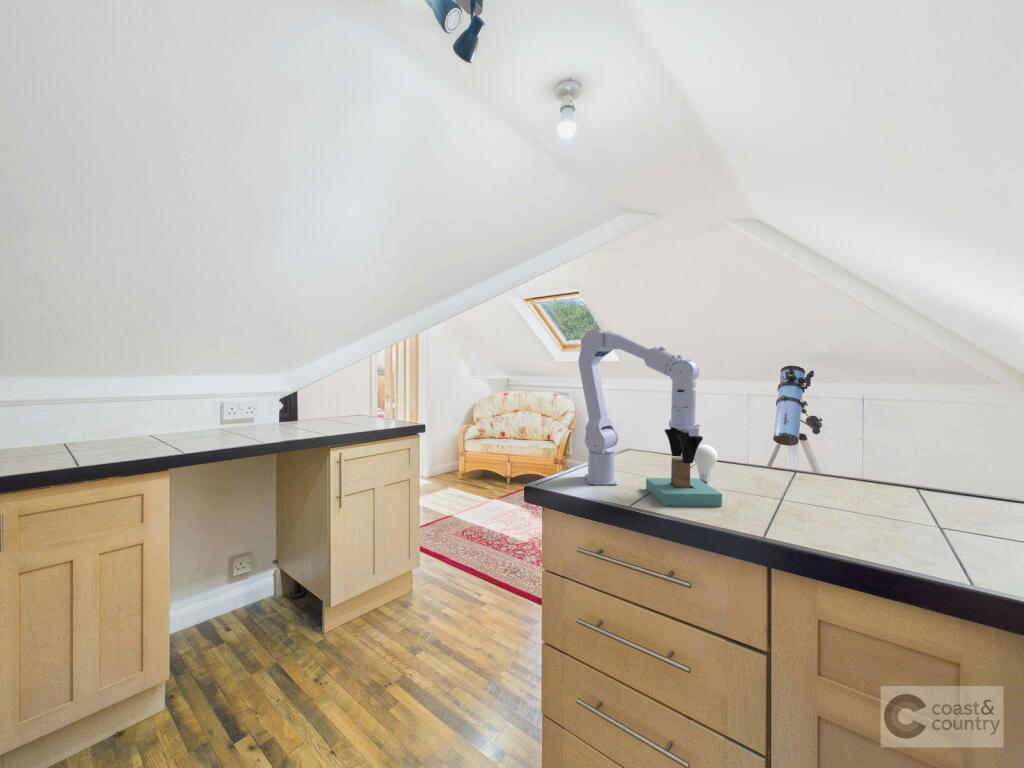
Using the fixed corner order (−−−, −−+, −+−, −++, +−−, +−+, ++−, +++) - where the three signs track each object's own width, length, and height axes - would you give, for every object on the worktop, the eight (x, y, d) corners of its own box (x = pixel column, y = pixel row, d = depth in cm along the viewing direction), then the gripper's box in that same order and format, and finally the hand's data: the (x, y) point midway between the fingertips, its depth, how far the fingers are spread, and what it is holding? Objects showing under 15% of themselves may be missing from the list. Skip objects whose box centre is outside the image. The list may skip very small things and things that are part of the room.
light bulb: (711, 479, 125) (712, 442, 125) (720, 485, 119) (721, 447, 118) (688, 478, 126) (689, 442, 125) (696, 485, 119) (697, 446, 119)
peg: (670, 494, 110) (671, 457, 110) (684, 495, 110) (685, 457, 110) (675, 499, 107) (676, 460, 106) (689, 499, 107) (690, 460, 106)
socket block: (646, 488, 116) (646, 478, 116) (697, 489, 115) (697, 478, 115) (663, 505, 102) (663, 493, 102) (721, 506, 101) (722, 494, 101)
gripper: (712, 410, 100) (710, 466, 101) (687, 404, 115) (686, 453, 115) (682, 410, 100) (680, 466, 101) (661, 404, 115) (660, 453, 115)
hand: (682, 459), depth 108 cm, fingers open, 7 cm apart
